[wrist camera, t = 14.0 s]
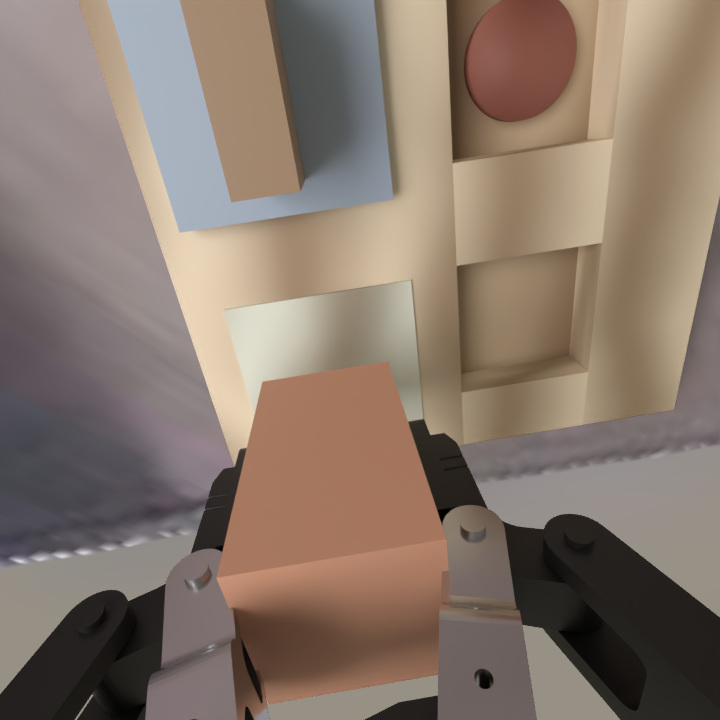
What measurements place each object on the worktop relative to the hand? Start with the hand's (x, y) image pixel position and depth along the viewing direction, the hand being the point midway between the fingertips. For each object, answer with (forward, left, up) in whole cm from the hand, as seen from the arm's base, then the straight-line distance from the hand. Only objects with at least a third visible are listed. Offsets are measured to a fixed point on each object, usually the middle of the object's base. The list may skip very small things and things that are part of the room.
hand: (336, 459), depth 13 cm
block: (0, 0, -2) cm, 2 cm away
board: (-5, -5, -7) cm, 10 cm away
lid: (0, -10, -5) cm, 11 cm away
